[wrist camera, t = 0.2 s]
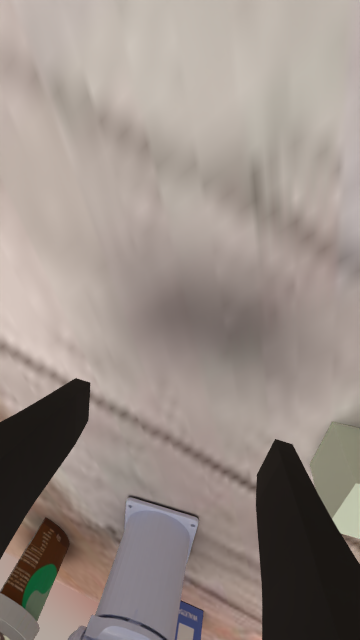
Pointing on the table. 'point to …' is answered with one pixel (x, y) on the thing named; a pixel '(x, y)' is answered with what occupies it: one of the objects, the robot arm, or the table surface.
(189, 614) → the walkman
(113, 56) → the table surface
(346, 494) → the sage cube
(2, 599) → the food container
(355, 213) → the table surface
